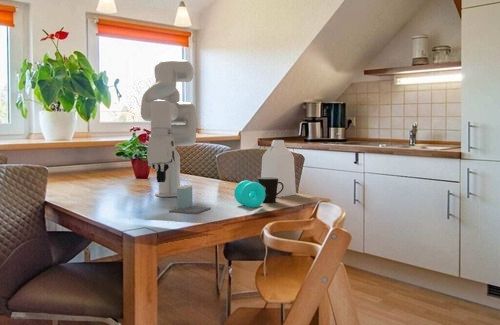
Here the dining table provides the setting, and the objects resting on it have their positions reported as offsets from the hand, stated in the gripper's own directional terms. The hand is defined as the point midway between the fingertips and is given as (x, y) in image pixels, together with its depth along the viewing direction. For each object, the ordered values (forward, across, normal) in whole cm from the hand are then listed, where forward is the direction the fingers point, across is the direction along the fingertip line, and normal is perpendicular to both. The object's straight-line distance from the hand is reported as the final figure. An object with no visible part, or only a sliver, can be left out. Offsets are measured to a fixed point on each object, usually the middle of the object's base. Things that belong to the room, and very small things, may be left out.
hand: (161, 181), depth 178 cm
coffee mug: (+10, -33, -32) cm, 47 cm away
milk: (+9, -31, -54) cm, 63 cm away
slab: (+10, -8, -4) cm, 13 cm away
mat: (+10, -12, 0) cm, 16 cm away
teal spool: (+10, -29, -18) cm, 36 cm away
